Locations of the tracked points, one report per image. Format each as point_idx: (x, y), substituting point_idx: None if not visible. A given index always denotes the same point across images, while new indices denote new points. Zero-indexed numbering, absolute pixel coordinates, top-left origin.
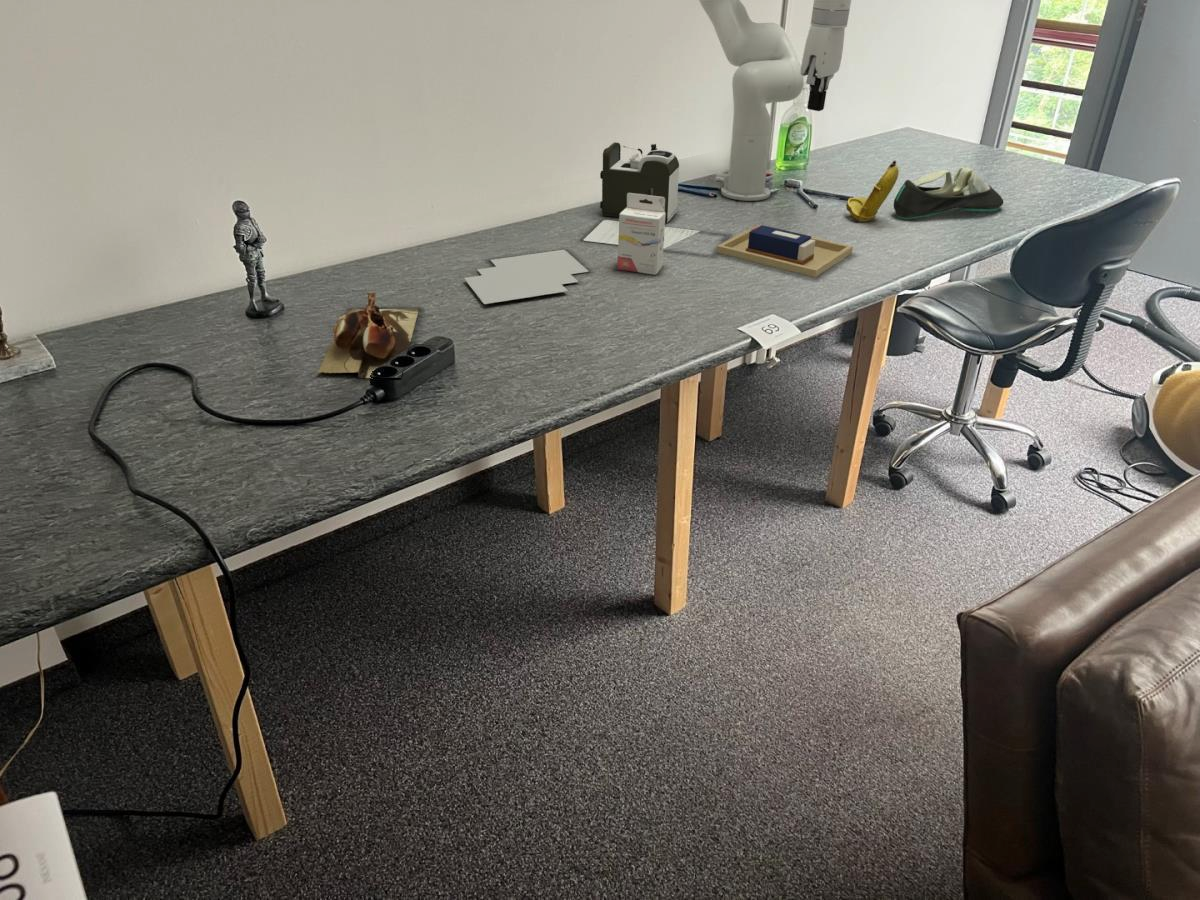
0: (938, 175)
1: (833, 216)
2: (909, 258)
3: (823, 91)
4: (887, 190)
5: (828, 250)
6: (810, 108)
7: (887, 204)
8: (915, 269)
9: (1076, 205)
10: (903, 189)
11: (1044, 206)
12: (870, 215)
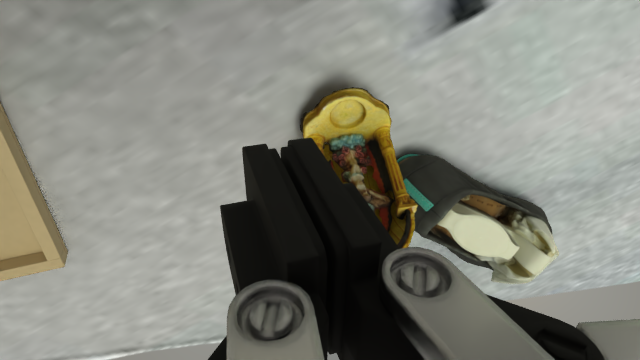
0: (484, 251)
1: (306, 59)
2: (165, 311)
3: (343, 348)
4: None
5: (24, 217)
6: (247, 174)
7: (467, 102)
8: (117, 347)
9: (573, 284)
10: (419, 204)
11: (556, 266)
12: (324, 155)
